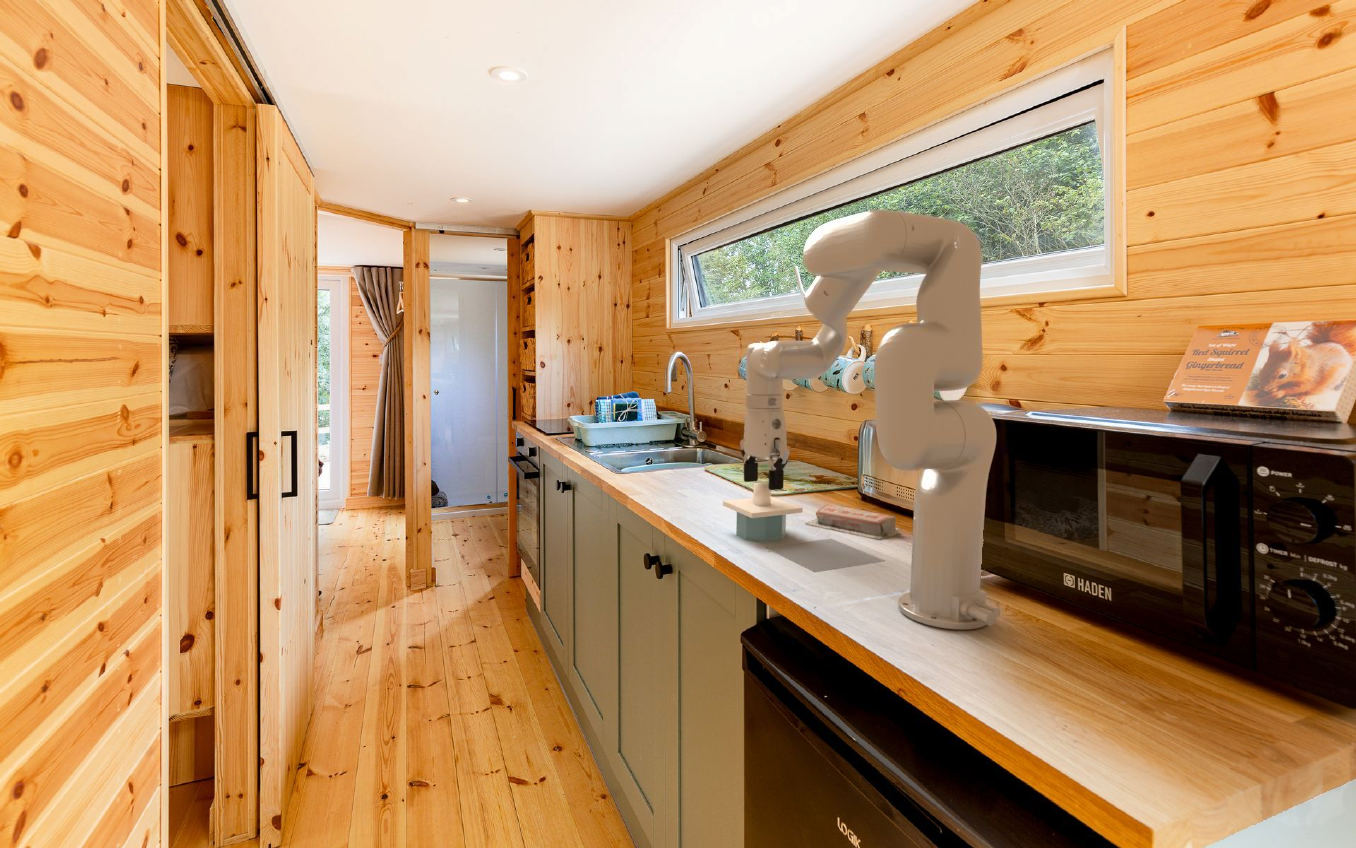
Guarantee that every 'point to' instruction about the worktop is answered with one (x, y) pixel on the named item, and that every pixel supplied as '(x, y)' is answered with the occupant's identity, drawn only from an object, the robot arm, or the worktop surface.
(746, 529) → the bowl
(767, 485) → the lid
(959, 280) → the robot arm
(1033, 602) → the worktop surface
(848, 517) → the packaged product
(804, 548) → the mat
